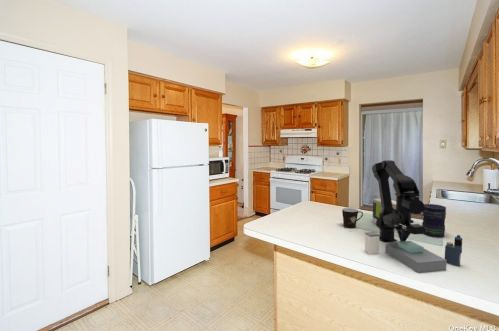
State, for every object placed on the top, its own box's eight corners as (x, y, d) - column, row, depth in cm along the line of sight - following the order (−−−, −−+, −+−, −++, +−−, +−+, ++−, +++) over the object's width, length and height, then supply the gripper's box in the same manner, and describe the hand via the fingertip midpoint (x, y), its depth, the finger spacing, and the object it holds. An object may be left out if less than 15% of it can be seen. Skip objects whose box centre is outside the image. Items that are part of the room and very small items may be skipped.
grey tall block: (364, 251, 114) (365, 232, 113) (373, 250, 114) (374, 231, 113) (369, 254, 110) (370, 235, 109) (378, 253, 111) (379, 234, 110)
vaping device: (459, 267, 98) (461, 237, 97) (443, 262, 102) (445, 233, 101) (461, 265, 99) (463, 235, 98) (445, 260, 104) (447, 231, 102)
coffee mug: (342, 228, 143) (342, 211, 142) (341, 223, 151) (341, 207, 150) (364, 230, 139) (364, 212, 138) (362, 225, 148) (362, 208, 147)
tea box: (402, 230, 138) (403, 204, 137) (384, 230, 138) (385, 204, 137) (388, 221, 153) (389, 197, 152) (371, 222, 153) (372, 198, 152)
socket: (385, 252, 112) (385, 243, 112) (409, 250, 114) (410, 241, 113) (417, 272, 94) (418, 262, 94) (446, 270, 96) (446, 260, 95)
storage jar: (449, 238, 126) (450, 209, 125) (427, 237, 128) (428, 208, 127) (438, 231, 136) (439, 204, 134) (418, 230, 138) (419, 203, 136)
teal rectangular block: (397, 246, 108) (397, 241, 108) (410, 244, 109) (410, 240, 109) (410, 253, 102) (410, 248, 101) (423, 251, 102) (423, 247, 102)
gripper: (373, 203, 116) (372, 236, 118) (402, 214, 98) (401, 253, 99) (395, 202, 118) (393, 234, 119) (428, 213, 99) (426, 251, 101)
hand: (402, 242), depth 110 cm, fingers closed
